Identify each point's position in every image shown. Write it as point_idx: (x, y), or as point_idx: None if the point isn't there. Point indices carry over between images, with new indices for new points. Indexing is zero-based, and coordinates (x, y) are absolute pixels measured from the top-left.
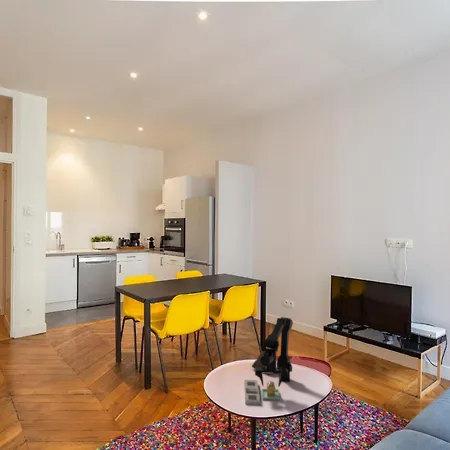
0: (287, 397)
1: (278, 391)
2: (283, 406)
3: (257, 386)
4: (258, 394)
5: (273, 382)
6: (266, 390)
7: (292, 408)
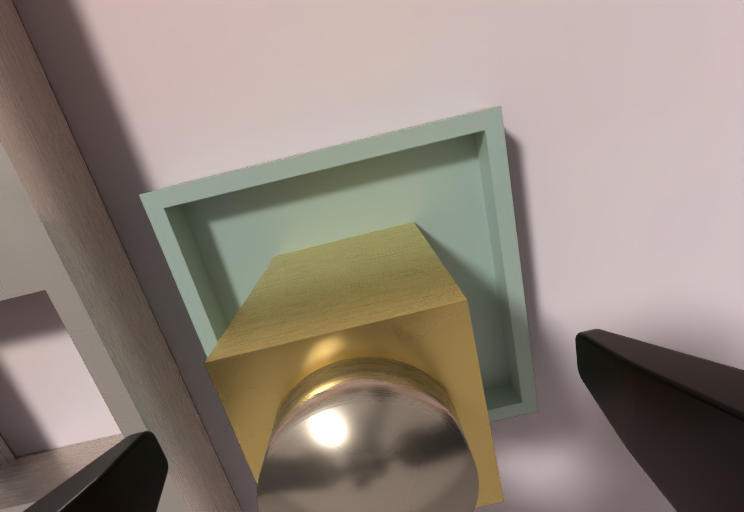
0: (637, 264)
1: (505, 199)
2: (558, 500)
3: (11, 193)
4: (165, 491)
5: (462, 451)
6: (264, 272)
7: (665, 507)
